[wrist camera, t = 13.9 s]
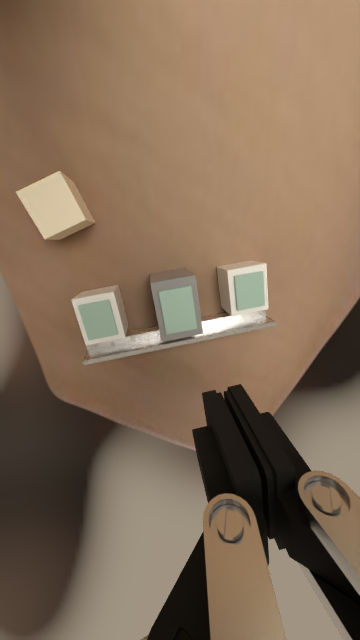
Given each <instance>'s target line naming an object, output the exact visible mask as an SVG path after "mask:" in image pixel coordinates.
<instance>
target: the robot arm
mask: <svg viewBox="0 0 360 640" xmlns="http://www.w3.org/2000/svg"><path fill="white" fill-rule="evenodd" d="M202 396H203V403H204V409H205V415H206V422H207V426H205V427H201V428H197V429H193V430H192V432H193V437H194V443H195V448H196V453H197V457H198V461H199V466H200V470H201V475H202V479H203V483H204V487H205V492H206V496H207V500H208V505H207V506H206V508H205V511H204V515H203V533H202V535H201V537H200V539H199V541H198V542H197V544H196V546H195V548H194V550H193V552H192V554H191V555H190V557H189V559H188V561H187V563H186V565H185V567H184V568H183V570H182V572H181V574H180V576H179V578H178V580H177V582H176V583H175V585H174V587H173V589H172V591H171V593H170V595H169V596H168V598H167V600H166V602H165V604H164V606H163V608H162V610H161V611H160V613H159V615H158V617H157V619H156V621H155V623H154V625H153V626H152V628H151V631H150V633H149V635H147V636H146V637H144V638H143V639H141V640H286V637H285V632H284V629H283V624H282V621H281V616H280V612H279V608H278V604H277V601H276V597H275V592H274V588H273V585H272V581H271V577H270V573H269V569H268V565H269V553H268V538H269V539H273V538H274V539H275V541H276V543H277V545H278V548H279V550H281V549H285V548H286V550H287V552H288V555H289V556H290V557H291V558H292V559H294V560H295V561H297V562H299V564H300V566H301V568H302V570H303V573H304V574H305V576H306V577H307V579H308V581H309V583H310V584H311V586H312V588H313V589H314V591H315V593H316V594H317V596H318V598H319V599H320V601H321V603H322V604H323V606H324V608H325V609H326V611H327V613H328V614H329V616H330V618H331V619H332V621H333V623H334V624H335V626H336V628H337V629H338V631H339V633H340V634H341V636H342V638H343V639H344V640H360V497H359V496H357V494H356V493H355V492H354V491H353V490H352V489H351V488H350V487H349V486H348V485H347V484H345V483H344V482H343V481H342V480H340V479H339V478H338V477H336V476H334V475H332V474H330V473H326V472H323V471H311V470H310V468H309V467H308V466H307V464H306V463H305V461H304V460H303V458H302V457H301V456H300V455H299V453H298V451H297V450H296V449H295V447H294V446H293V445H292V443H291V442H290V440H289V439H288V437H287V436H286V435H285V433H284V432H283V430H282V429H281V427H280V426H279V425H278V423H277V422H276V421H275V419H274V418H273V416H272V415H271V414H270V413H269V412H265V413H261V414H260V413H259V411H258V410H257V408H256V407H255V405H254V404H253V402H252V400H251V399H250V397H249V396H248V394H247V393H246V391H245V390H244V388H243V387H242V385H241V384H239V385H235V386H231V387H228V391H224V398H223V396H222V394H221V393H216V391H215V390H213V391H208V392H204V393H202ZM224 399H225V400H224Z"/></svg>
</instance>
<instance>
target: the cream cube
mask: <svg viewBox="0 0 360 640" xmlns="http://www.w3.org/2000/svg"><path fill="white" fill-rule="evenodd" d="M16 194H17V195H18V197H19V198H20V200H21V202H22V203H23V205H24V207H25V208H26V210H27V211H28V213H29V215H30V216H31V218H32V220H33V221H34V223H35V225H36V226H37V228H38V229H39V231H40V233H41V234H42V236H43V238H44V239H50V240H61V239H63V238H65V237H67V236H69V235H71V234H73V233H75V232H77V231H79V230H81V229H84V228H86V227H88V226H90V225H92V224H94V223H95V221H94V219H93V218H92V216H91V214H90V212H89V210H88V208H87V206H86V204H85V202H84V201H83V199H82V197H81V195H80V193H79V191H78V189H77V187H76V185H75V184H74V182H73V181H72V180H71V179H69V178H68V177H67V176H66V175H64V174H63V173H62V172H61V171H58V172H56V173H54V174H52V175H50V176H48V177H46V178H44V179H42V180H39V181H37V182H35V183H33V184H31V185H29V186H27V187H25V188H23V189H21V190H19V191H17V192H16Z"/></svg>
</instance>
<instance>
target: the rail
mask: <svg viewBox="0 0 360 640" xmlns="http://www.w3.org/2000/svg"><path fill="white" fill-rule="evenodd" d="M201 320H202V328H203V334H200V335H195V336H190V337H185V338H180V339H174V340H169V341H164V342H162V341H161V335H160V330H159V326H154V327H149V328H144V329H138V330H133V331H128V332H127V333H126V337H125V338H121V339H116V340H111V341H106V342H101V343H96V344H91V345H86V347H87V350H88V352H87V354H86V356H85V358H84V359H83V364H84V365H88V364H93V363H97V362H102V361H107V360H112V359H117V358H122V357H127V356H132V355H136V354H141V353H146V352H151V351H156V350H161V349H166V348H171V347H175V346H180V345H185V344H190V343H195V342H200V341H205V340H210V339H214V338H219V337H224V336H229V335H234V334H239V333H244V332H249V331H253V330H258V329H263V328H268V327H273V326H276V321H274V320H273V319H271V318H269V317H268V316H266V310H261V311H256V312H251V313H246V314H241V315H236V316H231V315H230V314H229V313H227V312H224V313H219V314H214V315H209V316H204V317H201Z"/></svg>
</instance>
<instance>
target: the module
mask: <svg viewBox="0 0 360 640" xmlns="http://www.w3.org/2000/svg"><path fill="white" fill-rule="evenodd" d="M150 285H151V290H152V295H153V300H154V305H155V310H156V315H157V320H158V325H159V330H160V335H161V341H162V342H164V341H169V340H174V339H180V338H185V337H190V336H195V335H200V334H203V328H202V320H201V313H200V305H199V298H198V290H197V283H196V275H194V274H193V273H192V272H190V271H189V270H187V269H186V268H182V269H176V270H170V271H164V272H159V273H153V274H150Z"/></svg>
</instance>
